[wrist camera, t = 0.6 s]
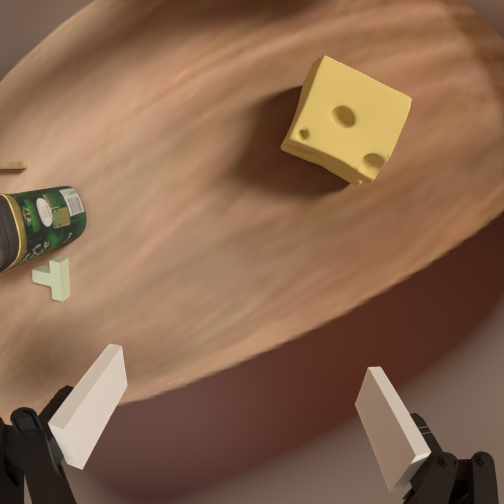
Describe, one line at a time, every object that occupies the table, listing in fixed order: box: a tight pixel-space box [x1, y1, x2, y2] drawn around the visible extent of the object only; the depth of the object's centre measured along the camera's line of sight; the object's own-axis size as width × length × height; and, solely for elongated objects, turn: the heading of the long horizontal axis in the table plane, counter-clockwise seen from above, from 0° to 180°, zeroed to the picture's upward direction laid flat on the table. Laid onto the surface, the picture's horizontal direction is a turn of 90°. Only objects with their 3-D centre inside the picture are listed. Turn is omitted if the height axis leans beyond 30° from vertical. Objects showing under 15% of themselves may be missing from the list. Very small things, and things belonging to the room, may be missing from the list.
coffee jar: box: [0, 186, 86, 273], centre depth 28 cm, size 10×8×19 cm
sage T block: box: [32, 257, 70, 302], centre depth 38 cm, size 6×6×2 cm
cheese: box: [281, 56, 411, 185], centre depth 29 cm, size 10×11×10 cm
